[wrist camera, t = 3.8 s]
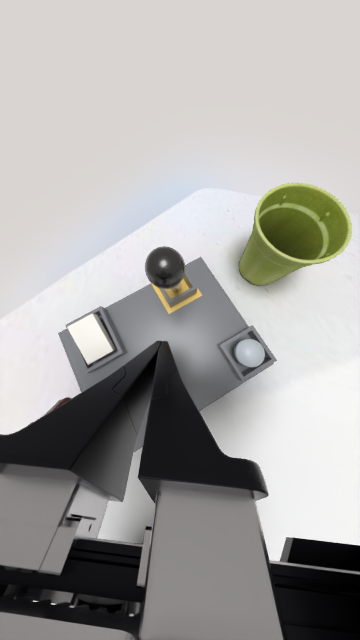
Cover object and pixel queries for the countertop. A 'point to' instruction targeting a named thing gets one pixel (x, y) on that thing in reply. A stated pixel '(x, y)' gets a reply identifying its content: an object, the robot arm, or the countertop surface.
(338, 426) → the countertop surface
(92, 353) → the rocker switch
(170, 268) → the toggle lever
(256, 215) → the plant pot
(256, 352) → the push button
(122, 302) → the switch panel
